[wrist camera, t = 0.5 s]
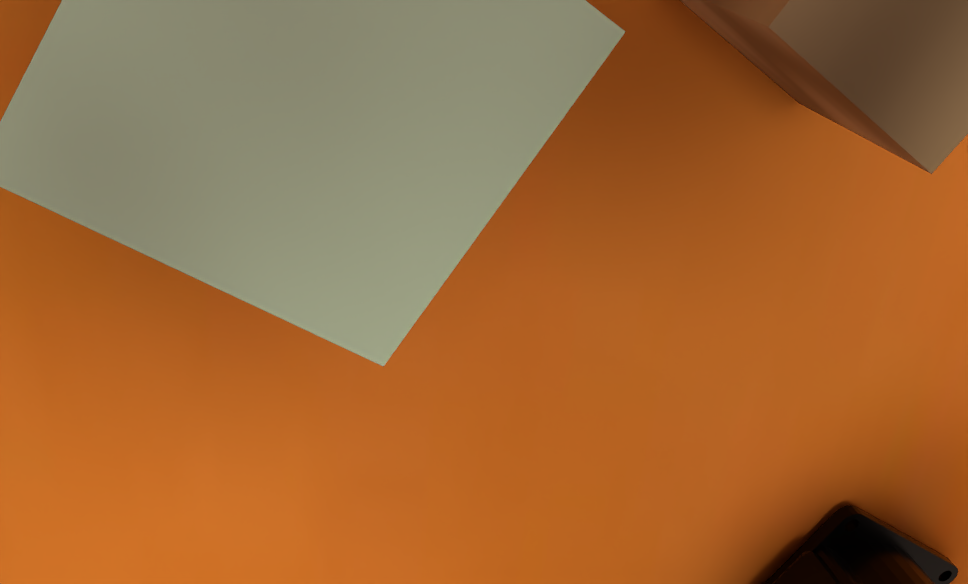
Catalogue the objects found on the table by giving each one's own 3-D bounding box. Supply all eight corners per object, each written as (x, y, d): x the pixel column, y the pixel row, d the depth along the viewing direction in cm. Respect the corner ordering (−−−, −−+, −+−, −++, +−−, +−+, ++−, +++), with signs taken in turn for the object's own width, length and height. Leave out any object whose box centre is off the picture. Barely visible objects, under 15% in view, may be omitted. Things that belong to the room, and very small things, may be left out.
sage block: (560, -7, 19) (625, 31, 16) (364, 277, 21) (383, 366, 18) (222, -268, 15) (211, -293, 12) (30, 105, 18) (-27, 173, 14)
